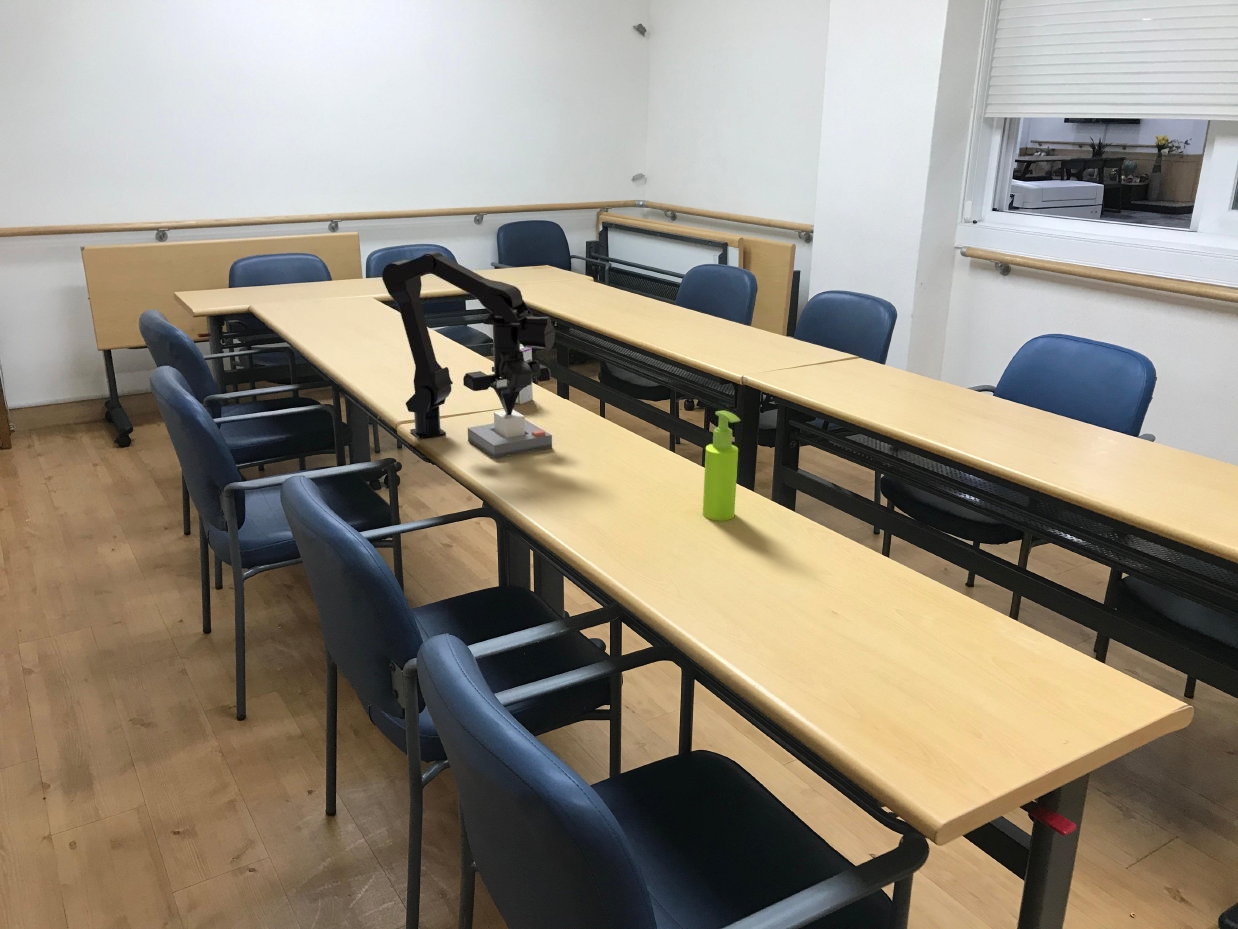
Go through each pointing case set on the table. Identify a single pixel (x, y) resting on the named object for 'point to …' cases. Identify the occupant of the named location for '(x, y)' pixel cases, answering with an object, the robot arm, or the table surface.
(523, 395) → the syrup box
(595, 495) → the table surface
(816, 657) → the table surface
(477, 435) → the socket
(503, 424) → the plug
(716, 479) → the soap dispenser
